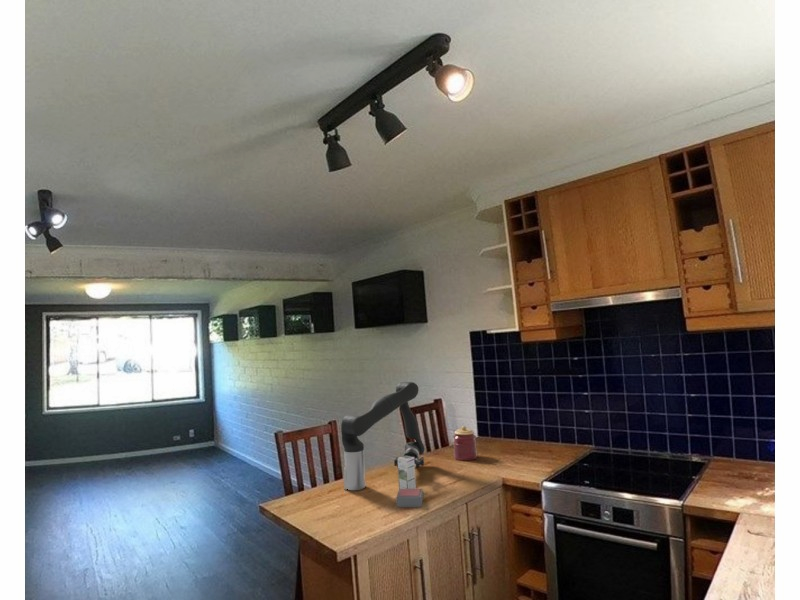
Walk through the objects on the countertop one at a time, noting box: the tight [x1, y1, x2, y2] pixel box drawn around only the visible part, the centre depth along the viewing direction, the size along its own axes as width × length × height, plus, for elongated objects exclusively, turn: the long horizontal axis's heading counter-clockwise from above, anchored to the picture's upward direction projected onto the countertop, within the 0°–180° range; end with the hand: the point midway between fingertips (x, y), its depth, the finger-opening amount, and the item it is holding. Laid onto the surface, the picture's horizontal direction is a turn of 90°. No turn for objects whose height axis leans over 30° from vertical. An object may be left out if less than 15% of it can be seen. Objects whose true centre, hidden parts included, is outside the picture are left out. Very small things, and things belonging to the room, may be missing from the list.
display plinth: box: [396, 488, 424, 508], centre depth 192 cm, size 10×10×4 cm
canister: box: [452, 425, 478, 461], centre depth 257 cm, size 13×13×18 cm
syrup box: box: [397, 455, 417, 490], centre depth 208 cm, size 6×6×14 cm
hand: (407, 465), depth 214 cm, fingers open, 8 cm apart
